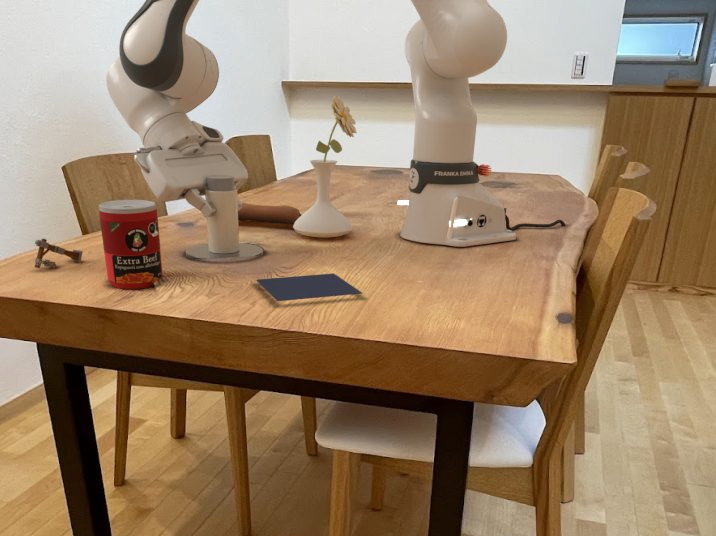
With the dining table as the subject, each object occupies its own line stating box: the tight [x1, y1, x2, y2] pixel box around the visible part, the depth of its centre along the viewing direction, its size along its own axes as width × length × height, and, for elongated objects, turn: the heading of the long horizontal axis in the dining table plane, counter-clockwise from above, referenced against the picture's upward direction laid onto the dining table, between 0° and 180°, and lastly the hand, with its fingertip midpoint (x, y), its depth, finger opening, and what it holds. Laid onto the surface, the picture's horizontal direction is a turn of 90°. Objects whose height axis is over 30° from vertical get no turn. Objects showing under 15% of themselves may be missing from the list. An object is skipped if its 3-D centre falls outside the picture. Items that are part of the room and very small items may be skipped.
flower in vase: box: [292, 94, 357, 239], centre depth 123 cm, size 13×11×25 cm
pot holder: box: [255, 272, 363, 302], centre depth 92 cm, size 12×11×1 cm
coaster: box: [185, 242, 264, 261], centre depth 112 cm, size 13×13×1 cm
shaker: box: [204, 175, 240, 254], centre depth 109 cm, size 5×5×12 cm
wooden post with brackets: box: [34, 238, 83, 269], centre depth 102 cm, size 2×8×4 cm, turn 151°
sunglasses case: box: [238, 202, 302, 226], centre depth 136 cm, size 18×7×7 cm, turn 73°
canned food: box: [98, 199, 164, 290], centre depth 93 cm, size 8×8×11 cm
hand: (225, 211), depth 109 cm, fingers closed on shaker, 5 cm apart
